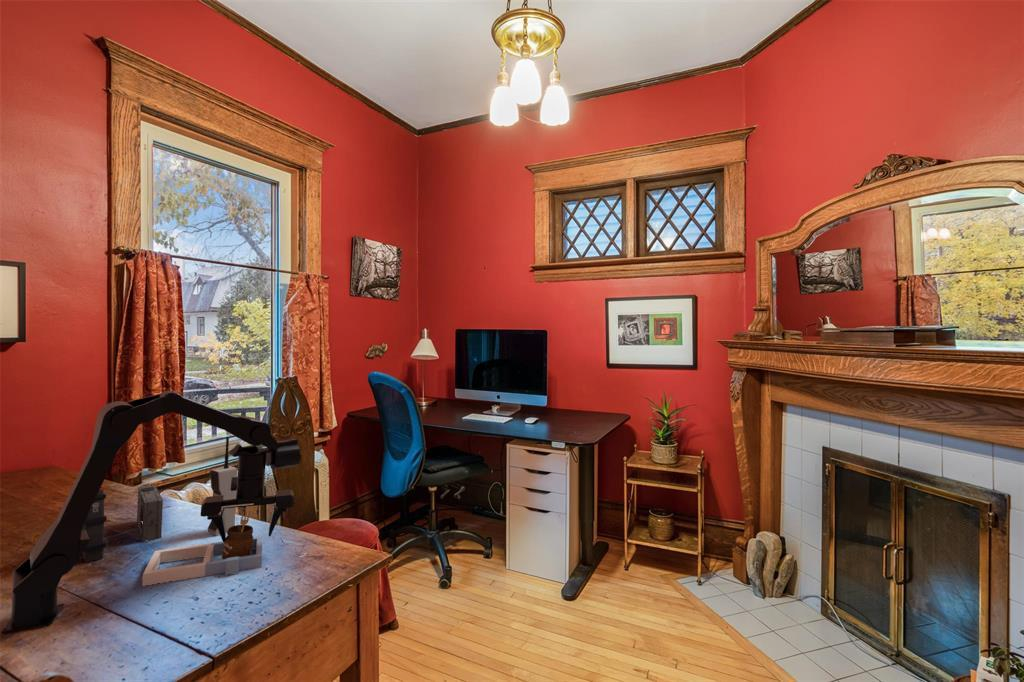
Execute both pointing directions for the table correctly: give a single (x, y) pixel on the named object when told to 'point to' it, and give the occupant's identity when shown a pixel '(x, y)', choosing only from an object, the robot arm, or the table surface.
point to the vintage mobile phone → (223, 491)
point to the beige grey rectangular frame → (199, 569)
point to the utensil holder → (239, 539)
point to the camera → (149, 512)
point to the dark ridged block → (95, 529)
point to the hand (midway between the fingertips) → (247, 538)
